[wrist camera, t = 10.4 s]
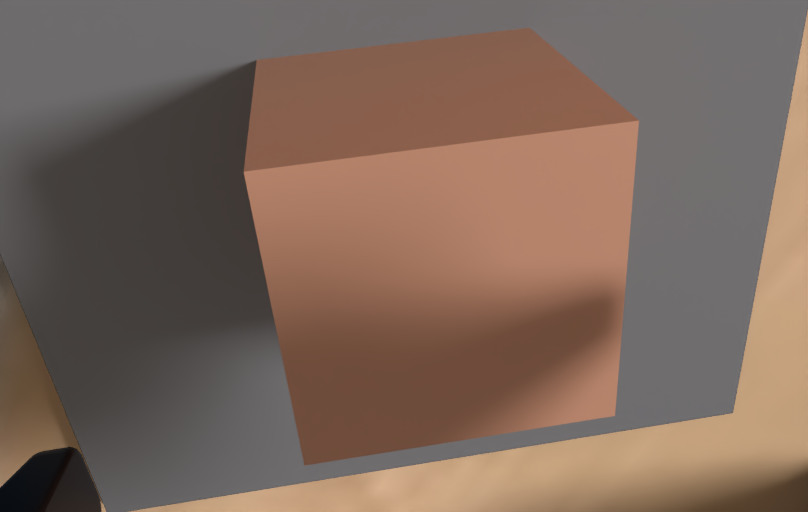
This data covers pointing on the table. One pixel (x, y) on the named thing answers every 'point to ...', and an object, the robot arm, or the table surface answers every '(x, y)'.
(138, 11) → the gray mat
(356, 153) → the terracotta cube
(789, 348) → the table surface
